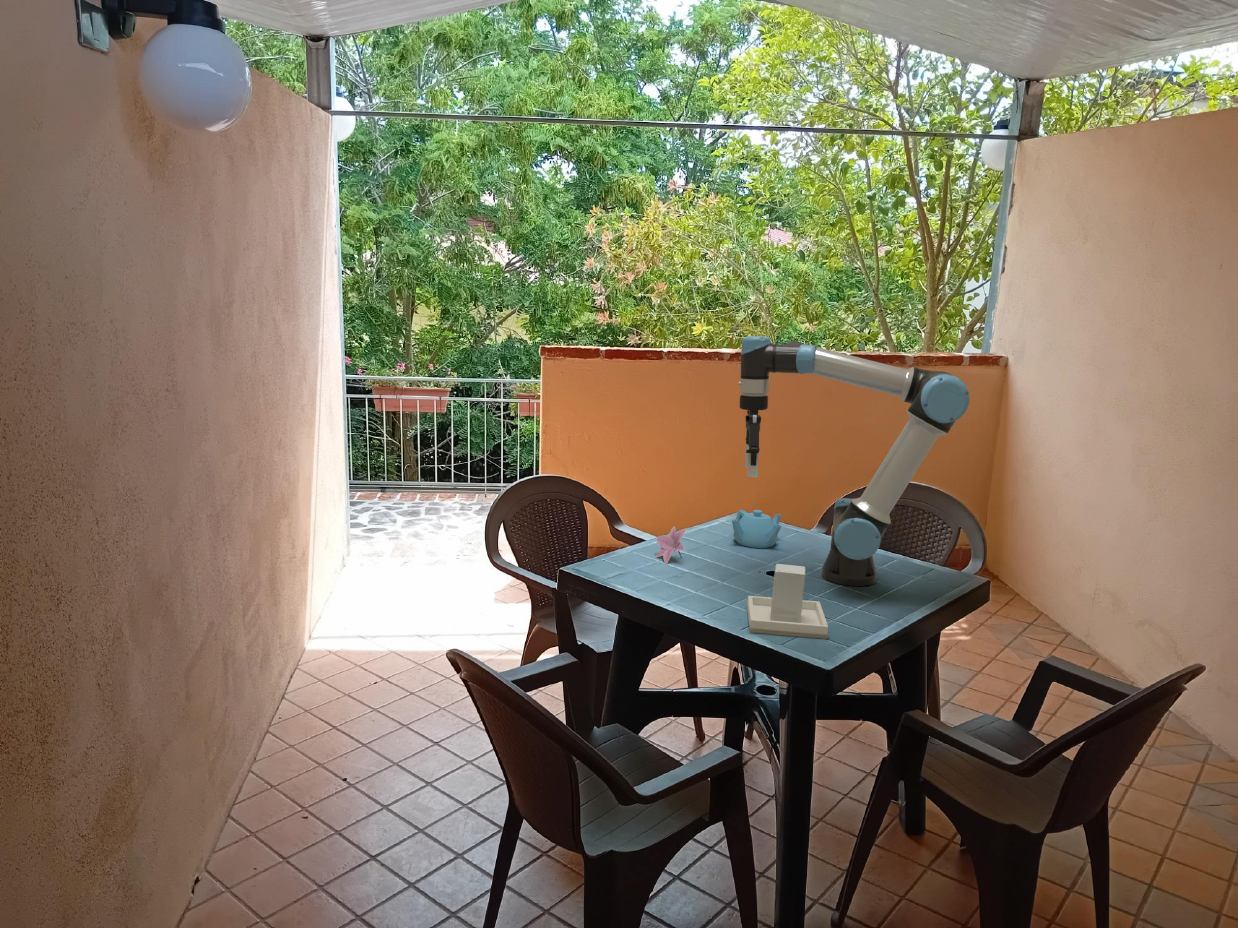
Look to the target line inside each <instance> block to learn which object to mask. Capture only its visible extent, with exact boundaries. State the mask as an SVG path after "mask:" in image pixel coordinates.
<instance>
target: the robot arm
mask: <svg viewBox="0 0 1238 928" xmlns="http://www.w3.org/2000/svg"><path fill="white" fill-rule="evenodd" d="M770 373H774V374H775V373H778V374H779V373H783V374H800V375H803V374H804V375H805V374H809V375H810V374H811V375H813V376H818V377H821V378H826V379H830V380H834V381H837V382H841V383H845V384H849V385H853V386H855V387H856V386H857V387H860V388H865V389H868V390H871V391H872V390H873V391H876V392H880V393H883V394H888V395H891V396H895V397H898V398H900V400H901V401H902V403H903V402H904V403H908V404H910V406H909V407H908V409H907V411H906V413H907V417H908V420H907V422H906V424H905V425H904V427H903V428H902V430H901V431H900V433H899V434H898V436H897V438H896V440H895V441H894V443H893V444H892V446H891V447H890V449H889V451H888V452H887V454H886V456H885V457H884V458H883V461H882V462H881V464H880V465H879V467H878V468H877V470H876V472H875V473H874V474H873V476H872V478H871V480H870V482H869V483H868V484H867V486H866V488H865V489H864V491H863V493H862V494H861V495H860V497H857V498H847V497H845V498H844V497H841V498H838V499H836V500H835V502H834V506H833V510H834V511H833V512H834V513H833V521H832V522H833V523H832V531H831V540H830V549H829V552H828V554H827V556H826V558H825V560H824V563H823V565H822V568H821V577H822V578H823V579H824V580H826V581H829V582H832V583H835V584H839V585H843V586H848V587H849V586H850V587H851V586H852V587H866V586H865V585H868V586H872V585H874V584H876V582H877V571H876V566H875V561H874V556H873V555H875V554H876V552H877V551H878V550H879V548H880V545H881V541H882V537H883V536H884V534H885V532H886V531H887V530H888V528H889V526H890V525H891V523H892V521H891V517H890V513H891V512H892V511H893V509H894V507H895V506H896V504H897V502H898V501H899V500H900V499H901V496H902V495H903V493H904V491H906V488H907V487H908V486H909V484H910V483H911V480H912V479H913V477H914V476H915V474H916V473H917V471H918V469H919V468H920V467H921V465H922V464H923V461H925V459H926V457H927V455H928V454H929V453H930V451H931V449H932V447H933V446H934V444H935V443H936V441H937V440H938V438H939V437H941V436H945V435H948V433H949V432H950V431H951V429H952V427H953V426H954V424H955V423H956V421H958V420H959V419H961V418H962V417H963V416H964V415H965V413H966V412H967V410H968V409H969V405H970V393H969V389H968V386H967V385H966V384H965V382H963V380H961V379H960V378H959V377H958V376H955V375H953V374H952V373H949V372H947V371H940V370H939V371H938V370H930V369H929V370H928V369H923V368H918V367H914V366H912V367H909V368H907V369H906V368H902V367H899V366H894V365H890V364H886V363H883V362H878V361H875V360H871V359H870V360H869V359H867V358H863V357H862V358H861V357H859V356H853V355H851V354H846V353H842V352H838V351H834V350H829V349H825V348H823V347H822V348H821V347H816V346H815V345H813V344H812V345H811V344H805V343H804V342H801V341H796V340H793V341H789V342H787V343H786V344H776V343H775V344H774V343H772V342H771V338H770V337H769V336H765V335H764V336H762V335H760V336H759V335H758V336H757V335H747V336H745V337H743V338H742V340H741V352H740V381H738V382H737V385H738V386H739V387H740V388H739V390H740V391H739V393H740V395H739V408H740V410H745V411H746V413H747V414H746V415H745V429H746V432H745V433H746V437H745V463H744V464H745V465H744V468H745V469H747V473H746V475H747V478H755V479H758V478H759V460H760V459H759V454H760V431H761V424H762V416H761V415H760V414H759V411H764V410H767V409H768V408H769V396H768V395H767V394H769V392H770V387H769V386H770V385H769V384H770ZM871 584H872V585H871Z"/></svg>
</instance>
